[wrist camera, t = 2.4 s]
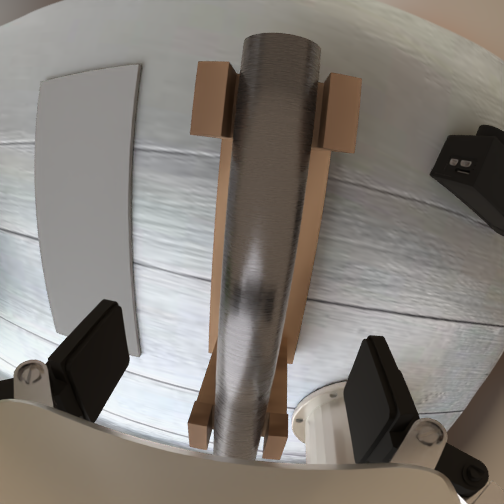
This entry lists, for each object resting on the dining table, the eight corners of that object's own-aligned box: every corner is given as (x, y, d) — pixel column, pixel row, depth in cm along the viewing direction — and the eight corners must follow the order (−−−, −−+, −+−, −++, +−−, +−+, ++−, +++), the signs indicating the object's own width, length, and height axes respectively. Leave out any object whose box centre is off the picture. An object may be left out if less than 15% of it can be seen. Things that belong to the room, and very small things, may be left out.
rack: (332, 115, 21) (383, 84, 9) (292, 354, 29) (292, 460, 17) (229, 103, 21) (176, 62, 10) (211, 343, 29) (177, 443, 17)
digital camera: (517, 187, 21) (562, 202, 14) (496, 232, 22) (539, 256, 16) (452, 123, 20) (500, 121, 13) (428, 174, 22) (473, 186, 15)
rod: (248, 54, 11) (238, 30, 8) (316, 61, 11) (325, 39, 8) (217, 437, 19) (209, 468, 17) (257, 443, 19) (253, 475, 16)
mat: (141, 65, 21) (138, 63, 20) (141, 354, 31) (139, 357, 30) (44, 82, 21) (40, 81, 21) (59, 330, 31) (56, 332, 31)
